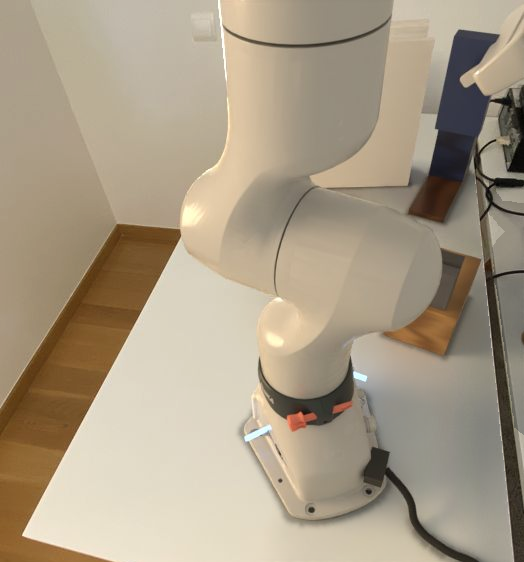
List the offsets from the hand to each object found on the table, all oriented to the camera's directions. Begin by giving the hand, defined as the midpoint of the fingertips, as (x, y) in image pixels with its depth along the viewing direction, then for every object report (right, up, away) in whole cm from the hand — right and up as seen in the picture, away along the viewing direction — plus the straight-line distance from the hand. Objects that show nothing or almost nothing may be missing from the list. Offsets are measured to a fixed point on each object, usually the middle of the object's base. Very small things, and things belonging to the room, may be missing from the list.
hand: (466, 75), depth 75 cm
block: (-17, -4, +34) cm, 38 cm away
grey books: (-6, -33, 0) cm, 34 cm away
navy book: (+1, -5, +7) cm, 9 cm away
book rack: (+6, -9, +28) cm, 29 cm away
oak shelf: (-3, -35, +9) cm, 37 cm away
